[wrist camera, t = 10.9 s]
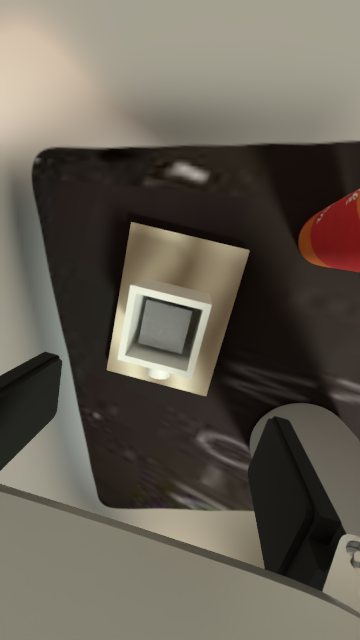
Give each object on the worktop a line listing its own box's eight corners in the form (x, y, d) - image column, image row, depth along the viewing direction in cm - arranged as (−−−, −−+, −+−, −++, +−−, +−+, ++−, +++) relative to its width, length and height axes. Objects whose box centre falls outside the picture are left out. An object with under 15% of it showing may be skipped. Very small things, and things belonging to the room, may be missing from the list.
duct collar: (209, 293, 26) (212, 304, 19) (188, 372, 28) (184, 407, 22) (149, 278, 26) (130, 284, 19) (133, 358, 29) (112, 387, 22)
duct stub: (194, 302, 26) (192, 311, 21) (185, 337, 27) (181, 354, 22) (157, 293, 26) (146, 299, 22) (149, 328, 27) (138, 342, 23)
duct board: (247, 250, 26) (249, 250, 24) (205, 389, 30) (206, 396, 29) (135, 224, 26) (131, 221, 25) (111, 364, 31) (106, 370, 29)
